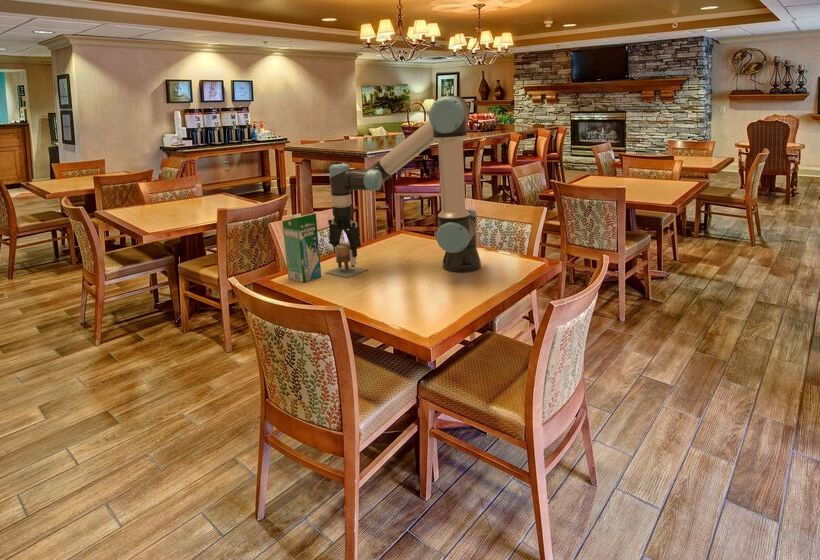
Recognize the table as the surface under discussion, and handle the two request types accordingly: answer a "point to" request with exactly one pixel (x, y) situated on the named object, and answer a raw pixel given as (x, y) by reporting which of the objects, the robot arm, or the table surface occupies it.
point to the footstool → (343, 255)
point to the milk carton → (302, 247)
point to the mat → (346, 271)
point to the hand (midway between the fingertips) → (346, 263)
